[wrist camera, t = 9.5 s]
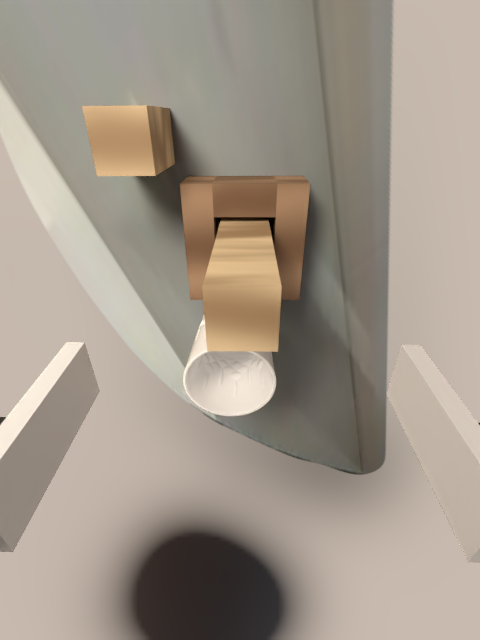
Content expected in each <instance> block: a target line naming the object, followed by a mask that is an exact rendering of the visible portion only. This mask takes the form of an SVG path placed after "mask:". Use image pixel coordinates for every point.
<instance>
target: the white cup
mask: <svg viewBox="0 0 480 640" xmlns="http://www.w3.org/2000/svg"><path fill="white" fill-rule="evenodd" d="M183 384H184V388H185V391H186V393H187V395H188V396H189V398H190V399H191V400H192V401H193V402H194V403H195V404H196V405H197V406H199V407H200V408H202V409H204V410H206V411H208V412H210V413H213V414H217V415H222V416H241V415H246V414H249V413H252V412H254V411H256V410H258V409H260V408H262V407H263V406H264V405H265V404H267V403H268V401H269V400H270V399H271V398H272V396H273V394H274V392H275V388H276V375H275V370H274V364H273V358H272V352H265V351H207V342H206V329H205V316H203V319H202V322H201V324H200V326H199V329H198V332H197V335H196V337H195V340H194V343H193V346H192V349H191V353H190V356H189V359H188V362H187V365H186V368H185V371H184V375H183Z"/></svg>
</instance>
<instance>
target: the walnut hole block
mask: <svg viewBox="0 0 480 640" xmlns="http://www.w3.org/2000/svg"><path fill="white" fill-rule="evenodd" d="M309 193H310V183H309V182H308V181H307V180H306V179H305V177H304V176H188V177H187V178H186V179H184V180H183V181H182V182H181V183H180V194H181V204H182V215H183V225H184V236H185V246H186V257H187V267H188V278H189V288H190V299H191V300H203V291H202V286H203V283H204V279H205V275H206V272H207V268H208V265H209V261H210V257H211V254H212V250H213V246H214V243H215V239H216V235H217V232H218V217H272V240H273V245H274V250H275V255H276V261H277V266H278V271H279V276H280V281H281V286H282V291H281V300H299V296H300V286H301V275H302V265H303V255H304V244H305V234H306V224H307V213H308V203H309Z"/></svg>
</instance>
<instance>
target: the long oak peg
mask: <svg viewBox="0 0 480 640" xmlns="http://www.w3.org/2000/svg"><path fill="white" fill-rule="evenodd" d="M202 291H203V304H204V316H205V329H206V342H207V351H265V352H278V342H279V325H280V308H281V291H282V286H281V281H280V276H279V271H278V266H277V261H276V255H275V250H274V245H273V240H272V235H271V230H270V225H269V219H268V217H221V221H220V224H219V228H218V232H217V235H216V239H215V243H214V246H213V250H212V254H211V257H210V261H209V265H208V268H207V272H206V275H205V279H204V283H203V286H202Z"/></svg>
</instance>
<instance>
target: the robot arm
mask: <svg viewBox="0 0 480 640" xmlns="http://www.w3.org/2000/svg"><path fill="white" fill-rule="evenodd" d="M98 393H99V387H98V384H97V381H96V378H95V375H94V371H93V368H92V365H91V362H90V359H89V355H88V353H87V349H86V346H85V343H82V342H80V343H78V342H66V344H65V345H64V346H63V347H62V348H61V350H60V351H59V352H58V354H57V355H56V356H55V357H54V358H53V360H52V361H51V362H50V364H49V365H48V366H47V367H46V369H45V370H44V371H43V372H42V374H41V375H40V376H39V377H38V379H37V380H36V381H35V382H34V384H33V385H32V386H31V387H30V389H29V390H28V391H27V392H26V394H25V395H24V396H23V397H22V399H21V400H20V401H19V402H18V404H17V405H16V406H15V407H14V409H13V410H12V411H11V412H10V414H9V415H8V416H7V417H0V551H1V552H13V551H14V549H15V547H16V545H17V543H18V541H19V540H20V538H21V536H22V534H23V532H24V530H25V529H26V526H27V525H28V523H29V521H30V519H31V517H32V515H33V514H34V512H35V510H36V508H37V506H38V504H39V502H40V501H41V499H42V497H43V495H44V493H45V491H46V490H47V488H48V486H49V484H50V482H51V480H52V478H53V477H54V475H55V473H56V471H57V469H58V467H59V465H60V464H61V462H62V460H63V458H64V456H65V454H66V452H67V451H68V449H69V447H70V445H71V443H72V441H73V439H74V438H75V435H76V434H77V432H78V430H79V428H80V426H81V425H82V423H83V421H84V419H85V417H86V415H87V413H88V412H89V410H90V408H91V406H92V404H93V402H94V400H95V399H96V397H97V395H98ZM386 395H387V397H388V399H389V401H390V403H391V405H392V407H393V409H394V411H395V413H396V415H397V417H398V419H399V421H400V423H401V425H402V427H403V429H404V431H405V433H406V436H407V438H408V439H409V441H410V444H411V445H412V448H413V450H414V452H415V454H416V456H417V458H418V460H419V462H420V464H421V466H422V468H423V470H424V472H425V474H426V476H427V478H428V481H429V483H430V485H431V486H432V489H433V491H434V493H435V495H436V497H437V499H438V501H439V503H440V505H441V507H442V509H443V511H444V513H445V515H446V517H447V519H448V521H449V523H450V525H451V527H452V530H453V532H454V534H455V535H456V538H457V540H458V542H459V544H460V546H461V548H462V550H463V552H464V554H465V556H466V558H467V560H468V562H480V423H478V422H477V421H476V420H475V418H474V417H473V415H472V414H471V413H470V411H469V410H468V409H467V408H466V406H465V405H464V403H463V402H462V401H461V399H460V398H459V397H458V395H457V394H456V393H455V391H454V390H453V389H452V387H451V386H450V384H449V383H448V382H447V380H446V379H445V378H444V376H443V375H442V374H441V372H440V371H439V370H438V368H437V367H436V366H435V364H434V363H433V361H432V360H431V359H430V357H429V356H428V355H427V353H426V352H425V351H424V349H423V348H422V347H421V345H401V348H400V352H399V355H398V358H397V361H396V364H395V368H394V371H393V374H392V377H391V381H390V384H389V387H388V390H387V394H386Z"/></svg>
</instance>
